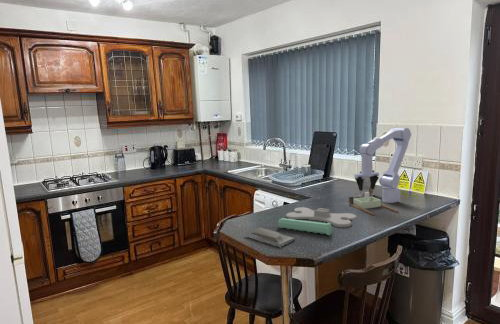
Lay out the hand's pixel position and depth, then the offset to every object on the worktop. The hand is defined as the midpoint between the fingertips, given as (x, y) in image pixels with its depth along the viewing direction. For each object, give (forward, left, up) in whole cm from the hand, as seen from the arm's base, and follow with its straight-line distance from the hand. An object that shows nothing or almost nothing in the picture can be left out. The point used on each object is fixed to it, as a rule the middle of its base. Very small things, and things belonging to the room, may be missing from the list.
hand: (366, 189), depth 187 cm
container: (+49, +22, -10) cm, 54 cm away
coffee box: (-14, -20, -10) cm, 27 cm away
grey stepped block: (+67, +26, -11) cm, 72 cm away
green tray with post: (+1, +2, -9) cm, 9 cm away
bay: (+1, +6, -10) cm, 11 cm away
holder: (+33, +8, -11) cm, 35 cm away
